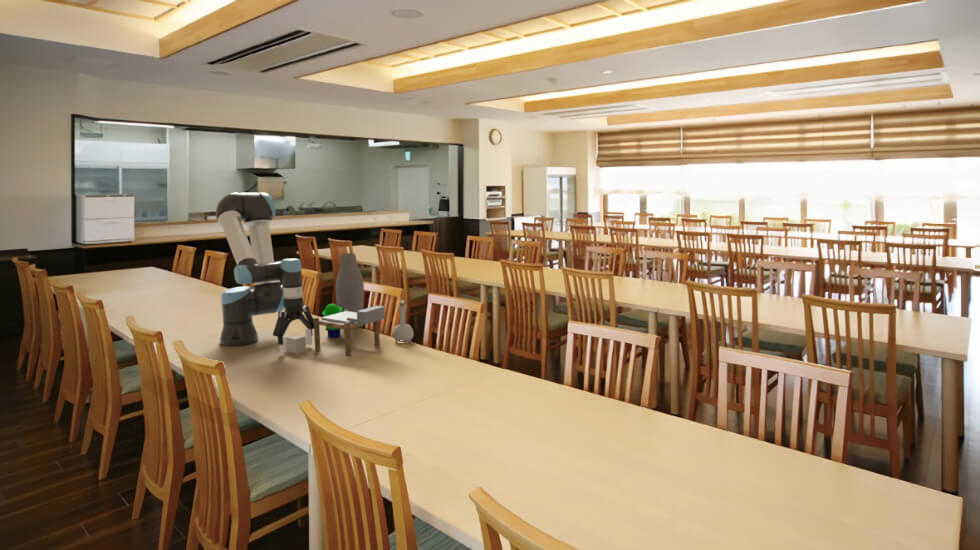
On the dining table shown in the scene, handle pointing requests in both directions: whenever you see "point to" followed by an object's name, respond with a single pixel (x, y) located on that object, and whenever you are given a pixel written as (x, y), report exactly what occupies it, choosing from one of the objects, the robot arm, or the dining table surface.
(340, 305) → the vase
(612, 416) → the dining table surface
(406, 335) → the potion bottle
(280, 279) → the robot arm
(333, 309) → the toy
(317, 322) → the frame
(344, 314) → the grey faceted block
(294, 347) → the stone
